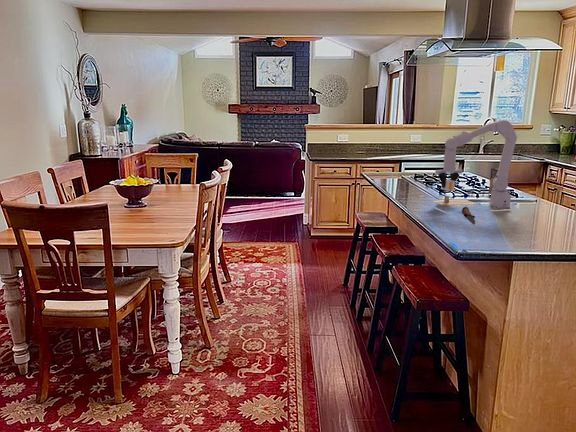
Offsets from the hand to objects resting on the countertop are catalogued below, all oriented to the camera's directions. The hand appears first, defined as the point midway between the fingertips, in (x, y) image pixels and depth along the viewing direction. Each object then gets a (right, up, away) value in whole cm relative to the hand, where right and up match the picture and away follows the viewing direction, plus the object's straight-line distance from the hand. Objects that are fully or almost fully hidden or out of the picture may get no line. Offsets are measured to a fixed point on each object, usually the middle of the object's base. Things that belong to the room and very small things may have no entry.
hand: (447, 187), depth 238 cm
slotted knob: (0, -1, 0) cm, 1 cm away
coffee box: (+37, -4, +23) cm, 43 cm away
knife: (0, -17, -29) cm, 34 cm away
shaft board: (+4, -9, +3) cm, 10 cm away
